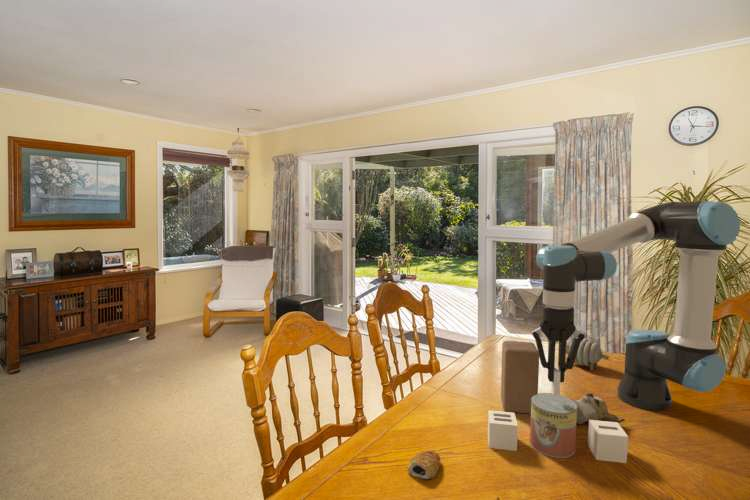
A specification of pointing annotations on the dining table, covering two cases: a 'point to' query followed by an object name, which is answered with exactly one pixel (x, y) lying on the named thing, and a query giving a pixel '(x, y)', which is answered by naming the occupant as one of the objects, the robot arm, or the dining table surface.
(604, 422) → the marked cube 2
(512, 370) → the block
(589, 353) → the grey armadillo figurine
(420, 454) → the pastry
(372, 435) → the dining table surface
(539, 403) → the canned food
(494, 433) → the marked cube 1
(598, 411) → the ceramic sculpture
